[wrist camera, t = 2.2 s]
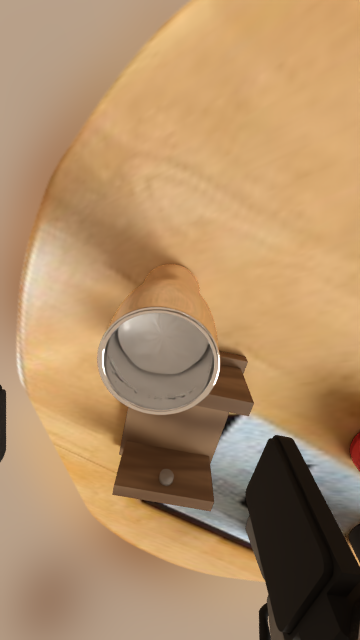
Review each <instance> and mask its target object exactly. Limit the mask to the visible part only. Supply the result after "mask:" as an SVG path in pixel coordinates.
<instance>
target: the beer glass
mask: <svg viewBox="0 0 360 640" xmlns="http://www.w3.org/2000/svg"><path fill="white" fill-rule="evenodd" d="M97 363H98V370H99V373H100V376H101V379H102V381H103V383H104V385H105V386H106V388H107V389H108V390H109V392H110V393H111V394H112V395H113V396H114V397H115V398H116V399H117V400H119V401H120V402H121V403H123V404H124V405H126V406H128V407H130V408H132V409H134V410H137V411H139V412H143V413H147V414H154V415H168V414H175V413H179V412H182V411H185V410H187V409H190V408H192V407H193V406H195V405H197V404H198V403H200V402H201V401H202V400H203V399H204V398H205V397H206V396H207V395H208V394H209V393H210V392H211V390H212V389H213V387H214V385H215V384H216V381H217V379H218V376H219V372H220V353H219V349H218V338H217V331H216V326H215V322H214V318H213V316H212V313H211V311H210V308H209V306H208V304H207V302H206V301H205V300H204V298H203V297H202V296H201V294H200V288H199V284H198V281H197V279H196V277H195V276H194V275H193V273H192V272H191V271H189V270H188V269H187V268H185V267H183V266H180V265H177V264H164V265H161V266H158V267H156V268H155V269H153V270H152V271H151V272H150V273H149V274H148V275H147V277H146V278H145V280H144V283H143V284H142V285H140V286H139V287H137V288H136V289H134V290H133V291H132V292H131V293H130V294H129V295H128V296H127V297H126V298H125V299H124V301H123V302H122V303H121V304H120V306H119V307H118V309H117V311H116V312H115V314H114V316H113V318H112V320H111V322H110V324H109V326H108V328H107V331H106V332H105V334H104V335H103V337H102V339H101V342H100V345H99V348H98V355H97Z"/></svg>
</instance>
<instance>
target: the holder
mask: <svg viewBox="0 0 360 640" xmlns="http://www.w3.org/2000/svg"><path fill="white" fill-rule="evenodd" d="M219 353H220V372H219V376H218V379H217V381H216V384H215V385H214V387H213V389H212V390H211V392H210V393H209V394H208V395H207V396H206V397H205V398H204V399H203V400H202V401H201V402H200V403H198V404H197V405H195V406H193V407H192V408H190V409H187V410H185V411H182V412H179V413H175V414H168V415H154V414H147V413H143V412H139V411H137V410H134V409H132V408H130V407H128V411H127V416H126V421H125V426H124V431H123V437H122V442H121V447H120V452H119V455H122V457H121V461H120V465H119V468H118V472H117V476H116V480H115V484H114V489H113V494H112V495H118V496H124V497H130V498H136V499H142V500H147V501H153V502H159V503H165V504H171V505H177V506H183V507H189V508H195V509H200V510H206V511H211V509H212V506H213V504H214V496H213V487H212V478H211V469H210V463H211V461H212V458H213V455H214V452H215V450H216V447H217V444H218V442H219V439H220V436H221V433H222V431H223V428H224V425H225V422H226V420H227V417H228V414H229V412H231V413H236V414H241V415H246V416H249V414H250V412H251V409H252V407H253V404H254V402H253V399H252V397H251V394H250V392H249V389H248V386H247V384H246V381H245V379H244V376H243V373H244V371H245V368H246V365H247V363H248V361H247V359H246V357H244V356H240V355H235V354H230V353H226V352H221V351H219Z"/></svg>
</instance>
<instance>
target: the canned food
mask: <svg viewBox="0 0 360 640" xmlns="http://www.w3.org/2000/svg"><path fill="white" fill-rule="evenodd" d="M350 454H351V458H352V461H353V463H354V464H355V466H356V467H357V469H358V470H359V472H360V432H359V433H358V434H357V435H356V436H355V438H354V439H353V440H352V443H351V445H350Z"/></svg>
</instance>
